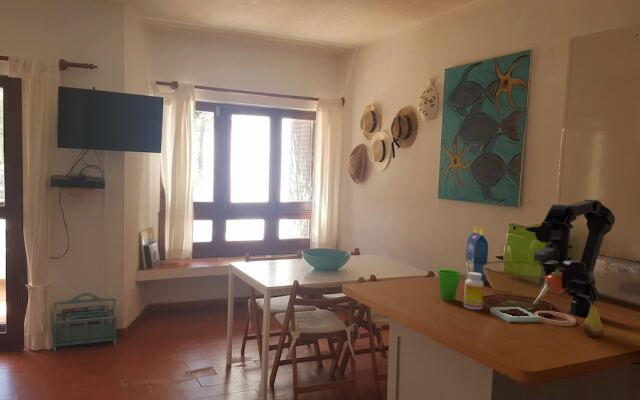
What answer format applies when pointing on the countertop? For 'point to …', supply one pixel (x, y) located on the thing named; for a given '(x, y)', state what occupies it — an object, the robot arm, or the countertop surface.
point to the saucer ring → (554, 322)
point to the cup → (448, 283)
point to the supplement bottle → (473, 291)
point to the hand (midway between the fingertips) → (556, 286)
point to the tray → (514, 318)
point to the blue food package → (476, 253)
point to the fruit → (593, 323)
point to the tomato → (554, 282)
